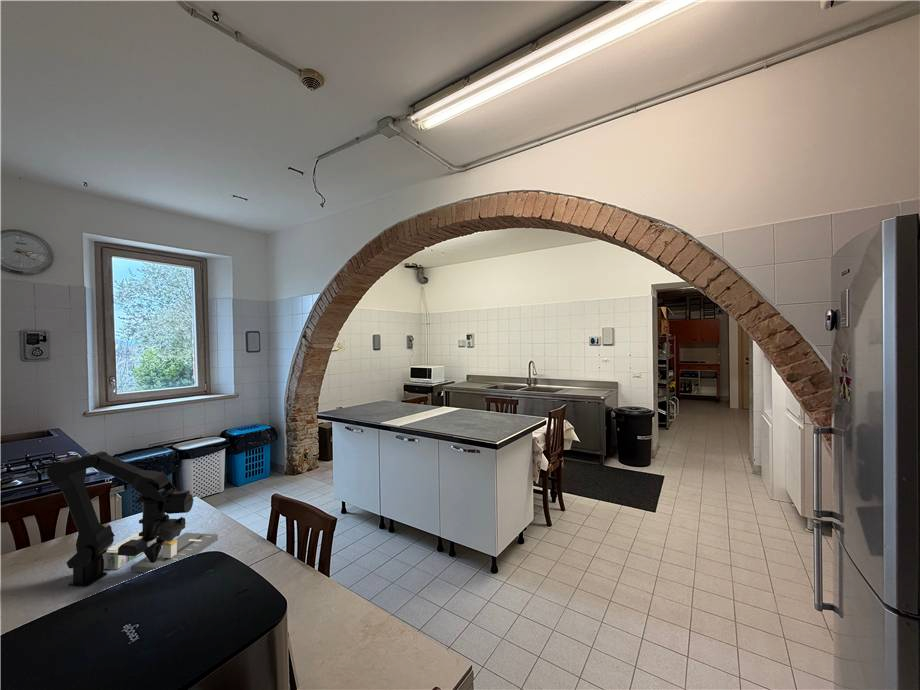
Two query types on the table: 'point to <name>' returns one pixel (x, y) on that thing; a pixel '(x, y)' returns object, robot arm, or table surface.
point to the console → (178, 551)
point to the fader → (169, 548)
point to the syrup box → (118, 561)
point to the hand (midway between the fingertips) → (153, 562)
